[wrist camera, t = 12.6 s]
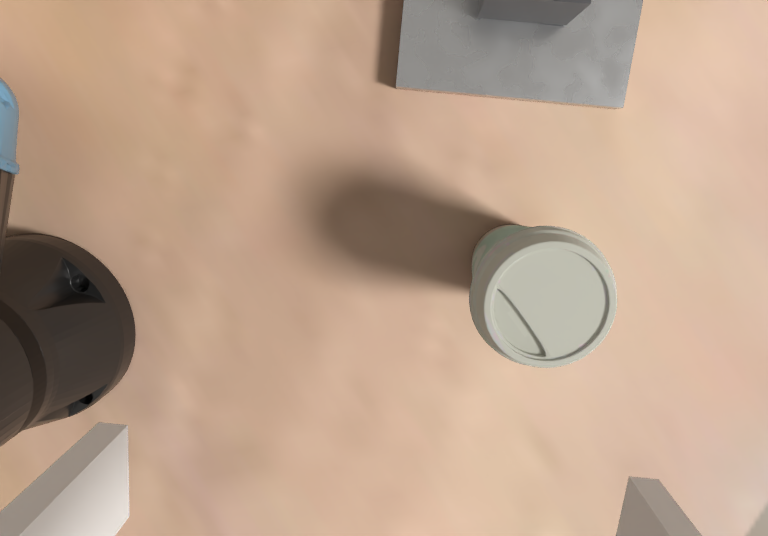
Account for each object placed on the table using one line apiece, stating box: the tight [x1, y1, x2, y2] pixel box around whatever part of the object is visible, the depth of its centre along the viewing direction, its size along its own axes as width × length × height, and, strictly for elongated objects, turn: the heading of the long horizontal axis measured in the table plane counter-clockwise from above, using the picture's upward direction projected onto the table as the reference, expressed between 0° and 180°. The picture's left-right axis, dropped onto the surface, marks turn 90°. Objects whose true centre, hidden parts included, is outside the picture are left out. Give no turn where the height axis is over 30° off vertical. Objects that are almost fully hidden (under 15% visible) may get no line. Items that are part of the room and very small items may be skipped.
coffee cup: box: [469, 225, 617, 368], centre depth 36 cm, size 9×8×12 cm
